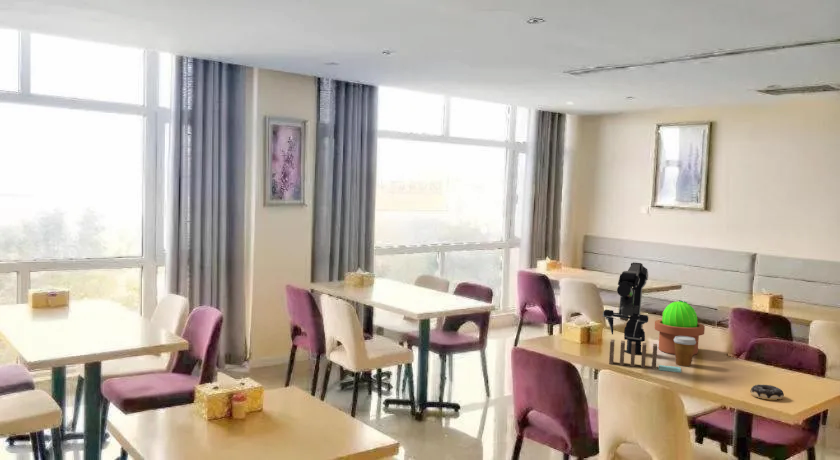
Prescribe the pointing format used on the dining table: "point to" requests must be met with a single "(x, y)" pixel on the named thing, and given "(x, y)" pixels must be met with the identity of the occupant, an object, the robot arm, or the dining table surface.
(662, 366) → the mat
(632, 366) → the domino
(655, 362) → the domino
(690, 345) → the disposable coffee cup
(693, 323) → the potted cactus
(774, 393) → the donut
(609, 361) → the domino
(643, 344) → the domino
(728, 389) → the dining table surface
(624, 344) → the domino
